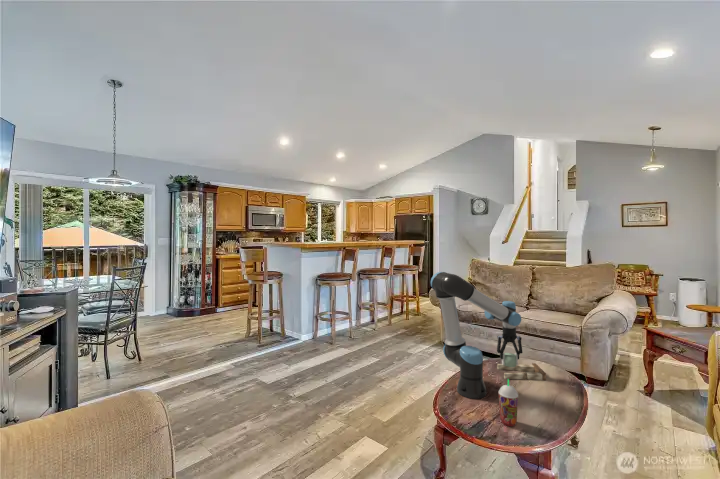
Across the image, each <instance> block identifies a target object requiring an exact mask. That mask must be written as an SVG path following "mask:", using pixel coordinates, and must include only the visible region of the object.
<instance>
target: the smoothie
mask: <svg viewBox="0 0 720 479" xmlns="http://www.w3.org/2000/svg"><path fill="white" fill-rule="evenodd" d="M497 393H498V403H499V404H498V405H499V418H500V422H501V424H503V425H504V426H506V427H515V426H516V423H518V422H517V420H518V407H519V393H518V391H517V389H516V388H515V387H514V386H513V385H511V384H510V379H507V384H504V385H502V386H501V387H500V388H499V390H498V392H497Z"/></svg>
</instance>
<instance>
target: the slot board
mask: <svg viewBox="0 0 720 479" xmlns="http://www.w3.org/2000/svg"><path fill="white" fill-rule="evenodd" d="M496 367H497V370H499V371H500V370H501V371H502V370H503V371H504V370H505V371H507V370H508V371H517V372H504V373H503V378H504V380H508V379H509V380H525V379H527V380H528V381H529V380H530V381H531V380H532V381H546V380H547V373H546V372H545V371H544V370H543V369H542V368H541V367H540V366H539V365H538V364H537V363H533V362H532V363H531V364H518V365H516V366H515V367H508V366H505V365H503V364H502V363H497V366H496ZM521 372H522V373H521Z"/></svg>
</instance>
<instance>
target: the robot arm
mask: <svg viewBox="0 0 720 479" xmlns="http://www.w3.org/2000/svg"><path fill="white" fill-rule="evenodd" d="M430 287H431V288H432V290H433V291H434V292H435V297H436V298H437V299H438V300H439V304H440V310H441V314H442V320H443V325H444V331H445V336H446V339H445V340H444V345H443V348H442V351H443V355H444V357H445V358H446V359H447V360H448V361H449V362H450V363H452V364H454V365H456V366H457V367H459V369H460V371H459V373H460V374H459V379H458V381H457V385H456V392H457V393H458V394H459V395H461V397H465V398H467V399H483V398H485V397H486V396H487V388H486V384H485V382H484V377H483V376H484V374H483V372H484V367H483V366H484V363H483V362H484V358H483V357H484V356H483V352H482V351H481V349H479V348H478V347H476V346H472V345H467V344H466V343H467V342H466V339H465V337H463V336H462V331H461V330H462V329H461V324H460V321H459V320H460V319H459V315H458V314H459V313H458V309H457V303H456V298H458V299H461V300H463V301H465V302H466V301H468V302H469V303H471V304H473V305H475V306H476V307H479V308H480V309H481V310H483V311H484V316H485V318H486V319H487V320H496V321H499V322H501V323H502V334H501V335H497V343H496V344H497V345H496V352H497V353H498V354H499V358H500V359H501V364H503V365H505V363H504V353H505V350H506V346H507V345H508V343H511V344H512V345H513V348H514V350H515V352H514V354H515V355H516V365H518V366H519V362H518V360H520V355H521V354H523V347H522V337H521V336H520V335H517V328H516V327H518V326H519V325H520V324H521V322H522V316H521V314H520V313H518V312H517V304H516V302H514V301H511V300H503V301H502V303H499V302H498V301H496V300H495V299H492V298H491V297H489V296H488V295H486V294H484V293H483V292H481V291H480V290H478V289H477V288H475V286H474V285H473V284H471V283H470V282H468V281H467V280H466V279H464V278H462V277H461V276H460V275H457V274H453V273H450V272H445V271H438V272H436V273H434V274H433V275H432V277H431V278H430ZM502 340H503V341H502ZM516 340H517V343H516ZM517 345H518V346H517Z"/></svg>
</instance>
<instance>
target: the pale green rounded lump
mask: <svg viewBox="0 0 720 479" xmlns="http://www.w3.org/2000/svg"><path fill="white" fill-rule="evenodd" d="M503 353H504V363H505V366H508V367H515V366H516V355H515V353H511V352H503Z"/></svg>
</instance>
